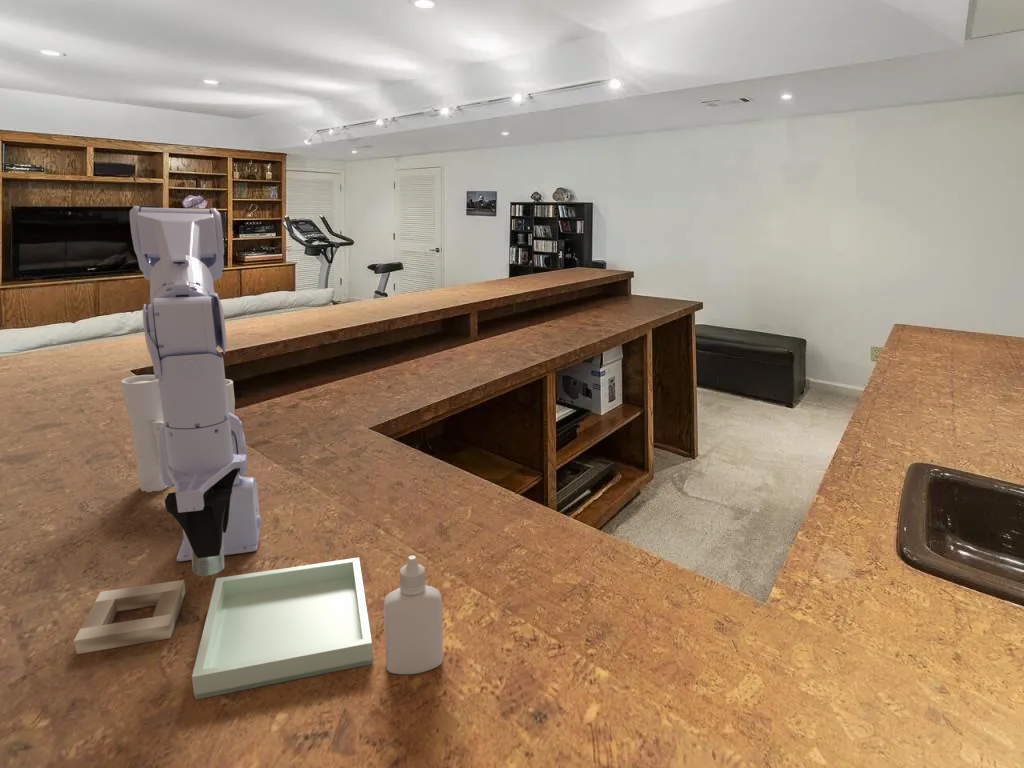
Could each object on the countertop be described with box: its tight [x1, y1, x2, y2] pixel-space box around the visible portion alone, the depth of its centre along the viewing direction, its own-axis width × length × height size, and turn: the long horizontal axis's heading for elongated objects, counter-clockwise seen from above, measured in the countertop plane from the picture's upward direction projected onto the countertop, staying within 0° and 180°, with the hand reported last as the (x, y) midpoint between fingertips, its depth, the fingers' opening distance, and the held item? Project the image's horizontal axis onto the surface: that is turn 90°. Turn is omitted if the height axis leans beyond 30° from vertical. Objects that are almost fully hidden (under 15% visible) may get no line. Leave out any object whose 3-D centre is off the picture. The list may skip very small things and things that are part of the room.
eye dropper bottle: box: [383, 555, 444, 675], centre depth 58 cm, size 4×6×12 cm
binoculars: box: [120, 374, 240, 493], centre depth 94 cm, size 17×5×18 cm, turn 84°
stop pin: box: [191, 485, 228, 577], centre depth 61 cm, size 4×4×8 cm
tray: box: [191, 557, 374, 701], centre depth 64 cm, size 16×16×2 cm
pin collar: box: [73, 579, 186, 655], centre depth 65 cm, size 8×8×2 cm
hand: (212, 543), depth 62 cm, fingers closed on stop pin, 4 cm apart
